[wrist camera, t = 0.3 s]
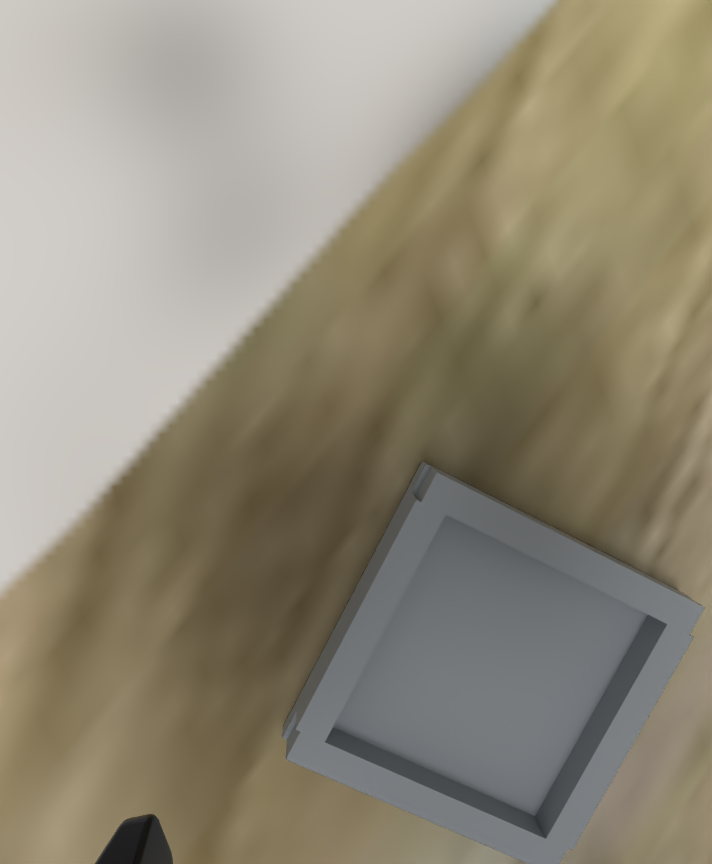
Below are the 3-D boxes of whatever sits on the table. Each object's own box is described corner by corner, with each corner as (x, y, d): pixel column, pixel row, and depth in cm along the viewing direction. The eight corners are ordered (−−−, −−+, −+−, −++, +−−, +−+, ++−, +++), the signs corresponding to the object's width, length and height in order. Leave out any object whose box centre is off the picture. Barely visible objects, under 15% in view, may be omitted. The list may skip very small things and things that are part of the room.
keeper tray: (539, 837, 26) (557, 876, 24) (283, 726, 25) (280, 757, 23) (678, 590, 26) (709, 609, 24) (422, 461, 24) (432, 469, 22)
